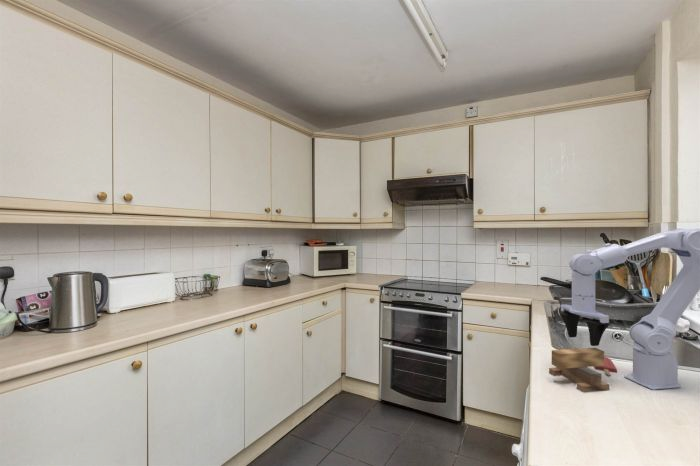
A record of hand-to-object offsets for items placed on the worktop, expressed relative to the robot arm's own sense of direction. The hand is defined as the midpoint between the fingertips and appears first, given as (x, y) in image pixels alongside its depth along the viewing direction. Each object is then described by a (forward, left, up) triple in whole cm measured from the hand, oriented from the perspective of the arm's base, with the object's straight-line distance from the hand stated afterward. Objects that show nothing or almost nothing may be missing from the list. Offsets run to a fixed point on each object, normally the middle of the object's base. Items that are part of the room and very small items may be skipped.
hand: (583, 341), depth 99 cm
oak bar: (+5, +4, -5) cm, 8 cm away
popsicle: (-11, -4, -11) cm, 16 cm away
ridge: (+5, +4, -10) cm, 12 cm away
